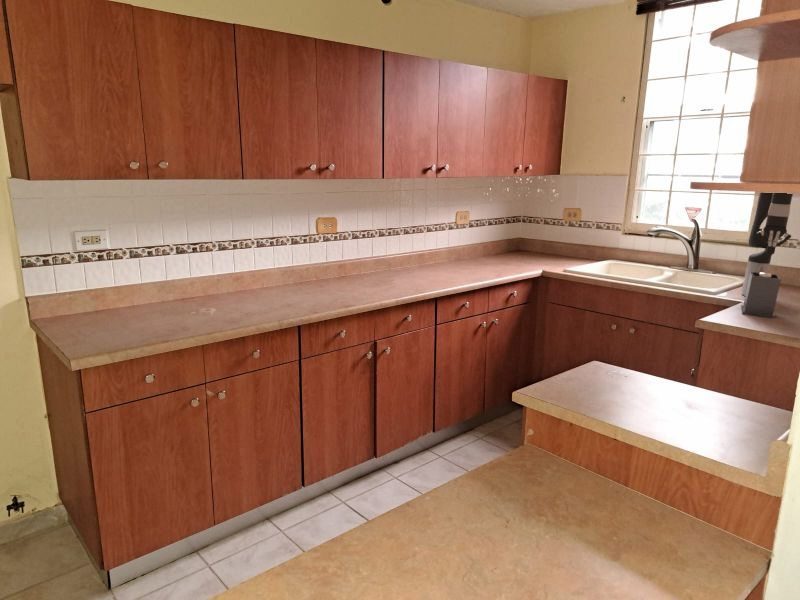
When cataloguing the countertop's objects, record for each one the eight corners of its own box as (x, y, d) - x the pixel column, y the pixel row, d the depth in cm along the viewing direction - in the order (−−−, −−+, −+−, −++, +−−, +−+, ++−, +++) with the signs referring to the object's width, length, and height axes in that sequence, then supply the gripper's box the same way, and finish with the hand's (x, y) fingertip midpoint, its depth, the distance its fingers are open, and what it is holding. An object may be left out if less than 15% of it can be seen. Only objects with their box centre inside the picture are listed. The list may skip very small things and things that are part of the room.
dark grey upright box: (741, 307, 264) (748, 271, 259) (771, 312, 259) (779, 274, 254) (742, 314, 253) (750, 276, 249) (774, 318, 248) (783, 279, 244)
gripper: (795, 215, 245) (786, 255, 249) (759, 212, 250) (751, 251, 255) (798, 217, 238) (788, 258, 243) (760, 214, 244) (752, 254, 249)
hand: (769, 254), depth 249 cm, fingers closed
